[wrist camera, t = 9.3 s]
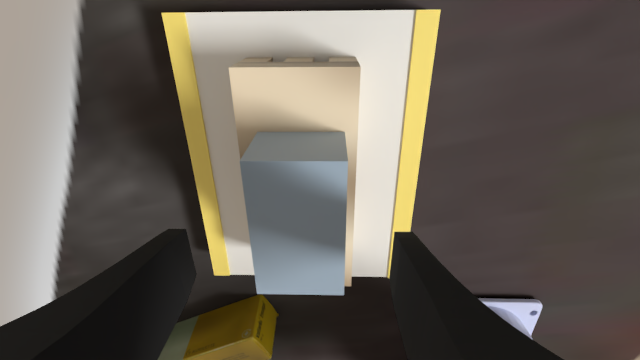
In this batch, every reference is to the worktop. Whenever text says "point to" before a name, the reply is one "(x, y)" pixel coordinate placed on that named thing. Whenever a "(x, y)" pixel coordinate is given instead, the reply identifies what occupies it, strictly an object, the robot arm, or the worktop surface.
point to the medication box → (225, 333)
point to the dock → (373, 123)
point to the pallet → (301, 108)
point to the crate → (297, 211)
